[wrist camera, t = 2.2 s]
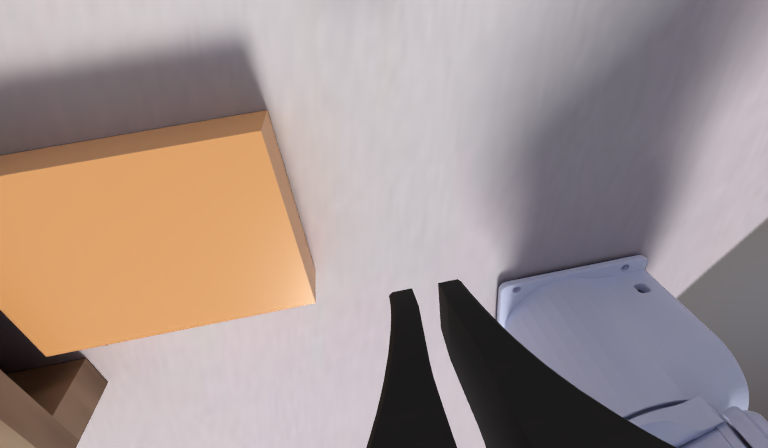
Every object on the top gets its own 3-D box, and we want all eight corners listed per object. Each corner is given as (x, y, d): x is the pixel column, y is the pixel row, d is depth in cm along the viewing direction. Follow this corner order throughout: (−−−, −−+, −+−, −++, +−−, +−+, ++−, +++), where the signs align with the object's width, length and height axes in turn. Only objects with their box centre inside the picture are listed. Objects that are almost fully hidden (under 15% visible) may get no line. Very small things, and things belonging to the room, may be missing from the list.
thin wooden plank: (267, 109, 16) (260, 130, 14) (315, 270, 21) (315, 303, 19) (-56, 165, 16) (-113, 195, 14) (72, 317, 21) (46, 356, 19)
